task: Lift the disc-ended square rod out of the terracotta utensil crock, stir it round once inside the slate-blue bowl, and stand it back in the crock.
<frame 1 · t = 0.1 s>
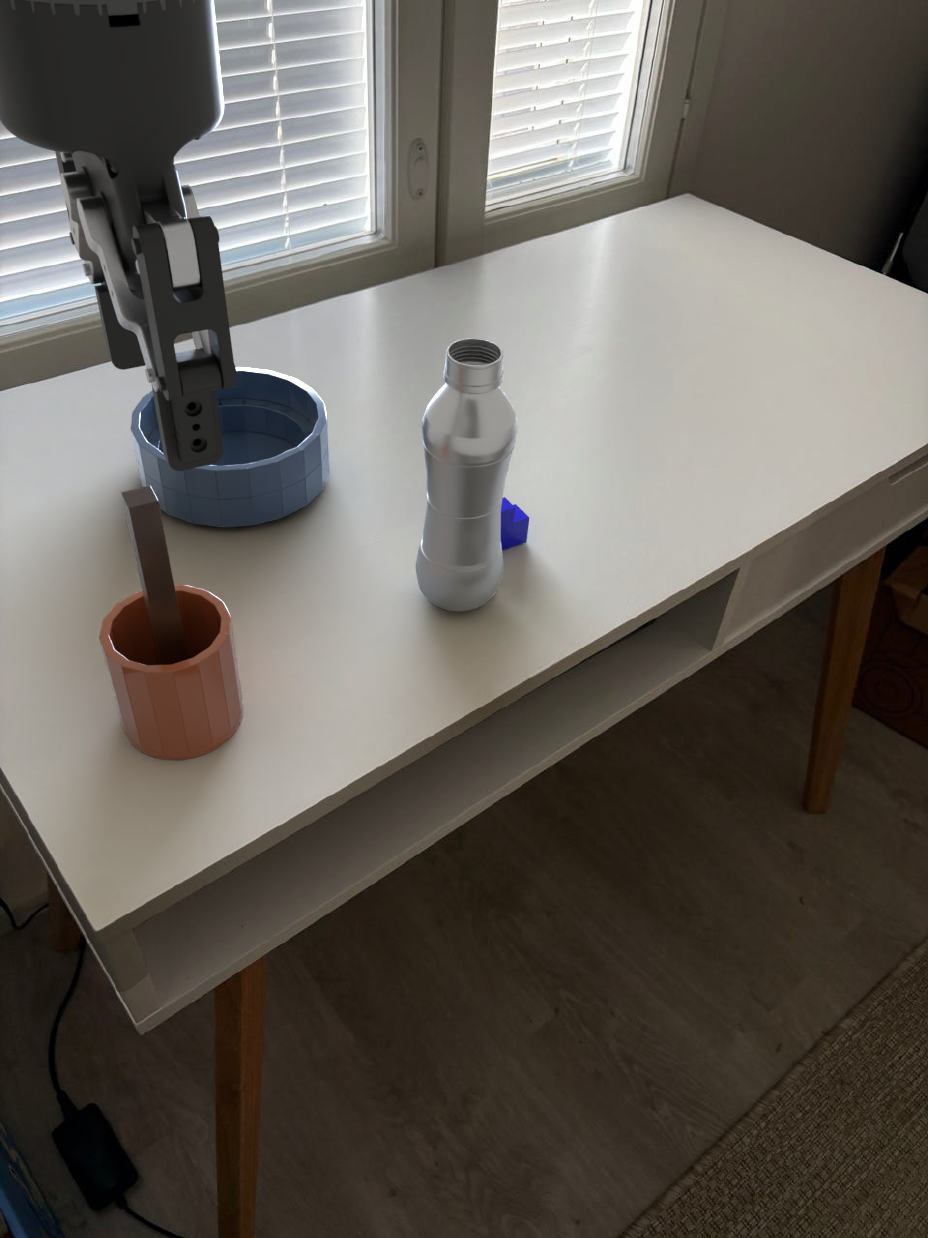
hand: (164, 410, 43), 27 cm above the table, tool pointing down, fingers open, 8 cm apart
disc-ended square rod: (182, 708, 66), point 1 cm above the table, touching crock
cable holder: (481, 522, 83), on the table
bowl: (237, 476, 86), on the table
crock: (183, 714, 66), on the table
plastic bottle: (457, 594, 76), on the table
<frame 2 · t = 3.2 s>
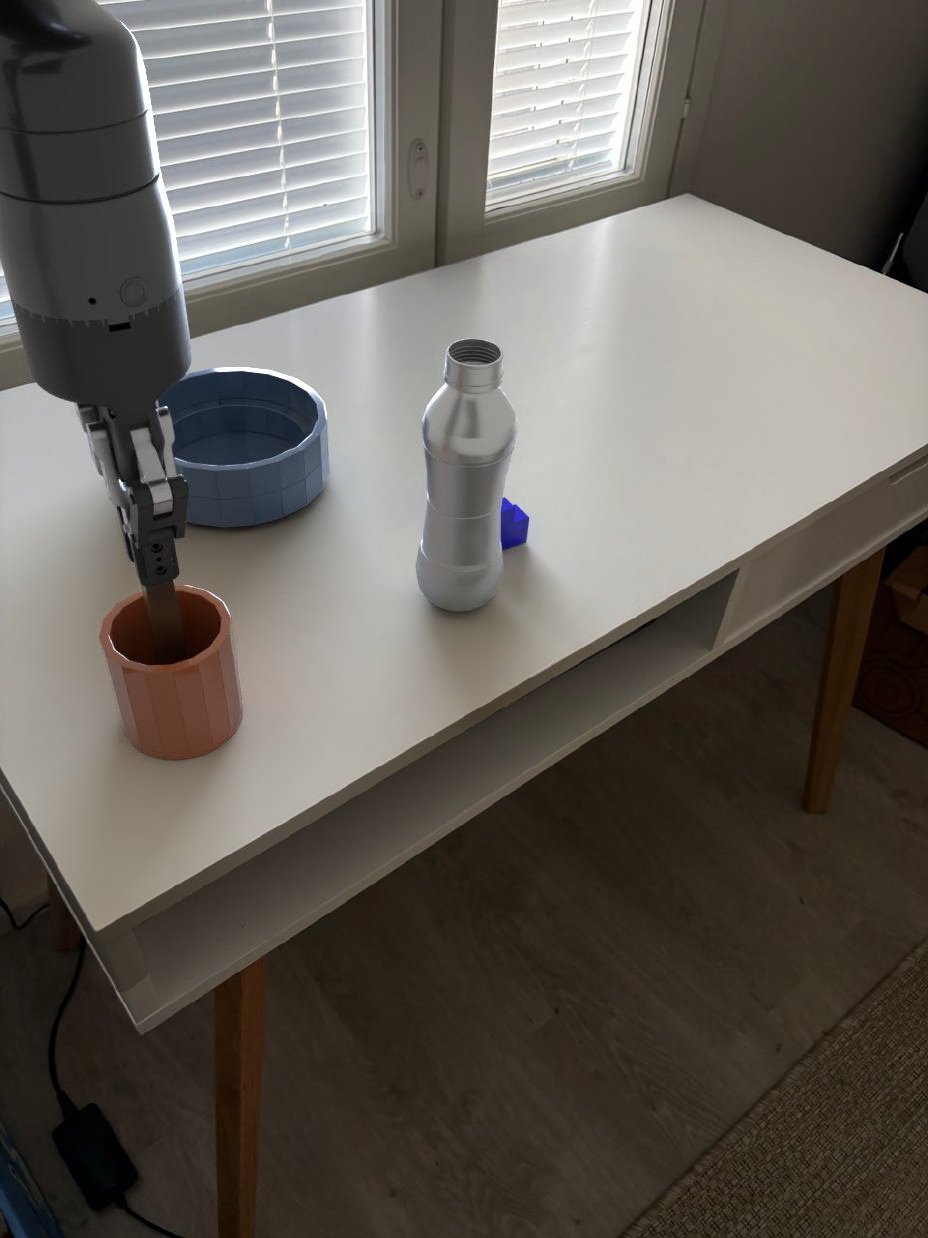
hand: (154, 567, 57), 13 cm above the table, tool pointing down, fingers closed on disc-ended square rod
disc-ended square rod: (182, 708, 66), point 1 cm above the table, touching crock, gripper
everything else where it was.
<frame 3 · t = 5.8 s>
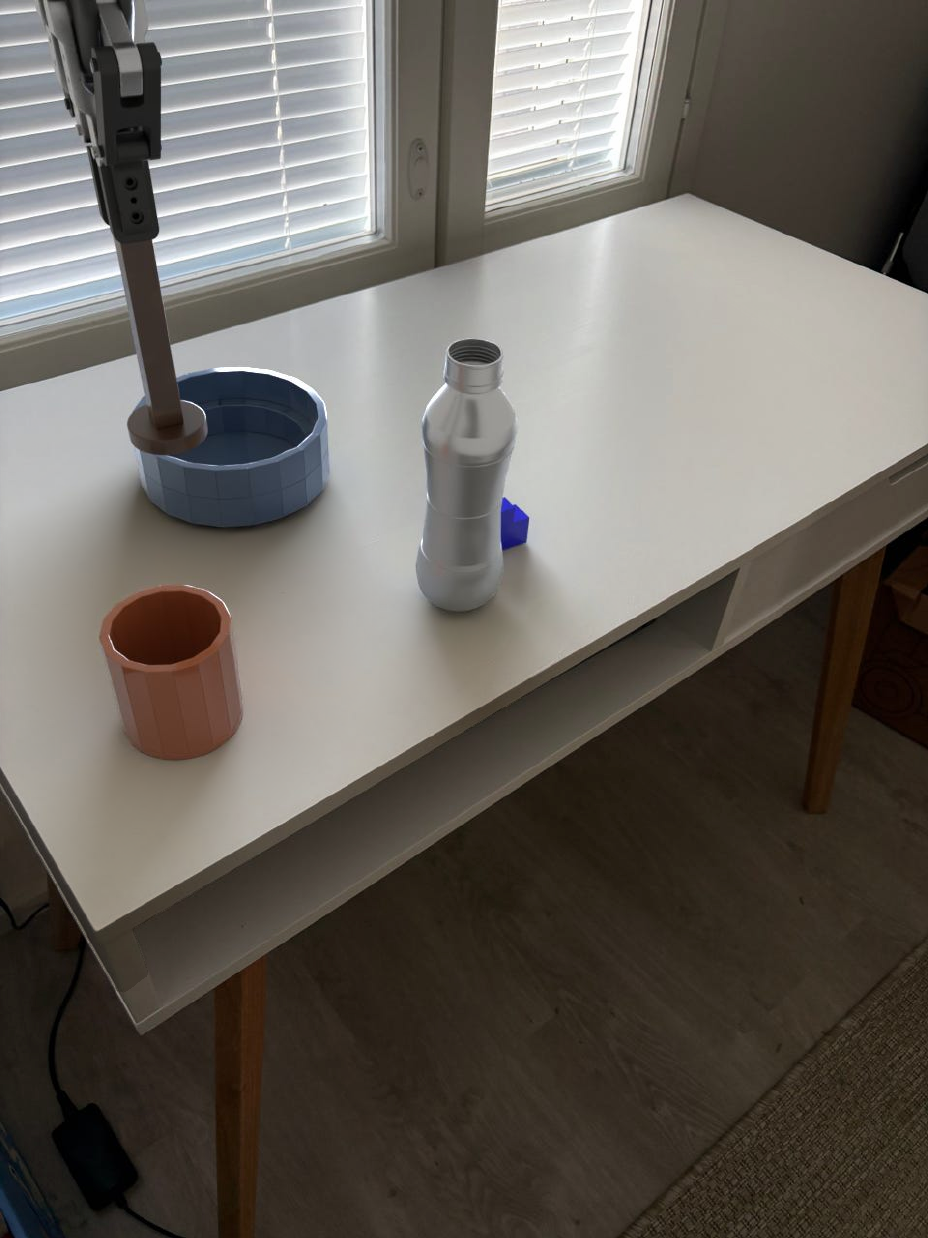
hand: (130, 228, 50), 30 cm above the table, tool pointing down, fingers closed on disc-ended square rod
disc-ended square rod: (169, 434, 59), point 18 cm above the table, touching gripper
everything else where it was.
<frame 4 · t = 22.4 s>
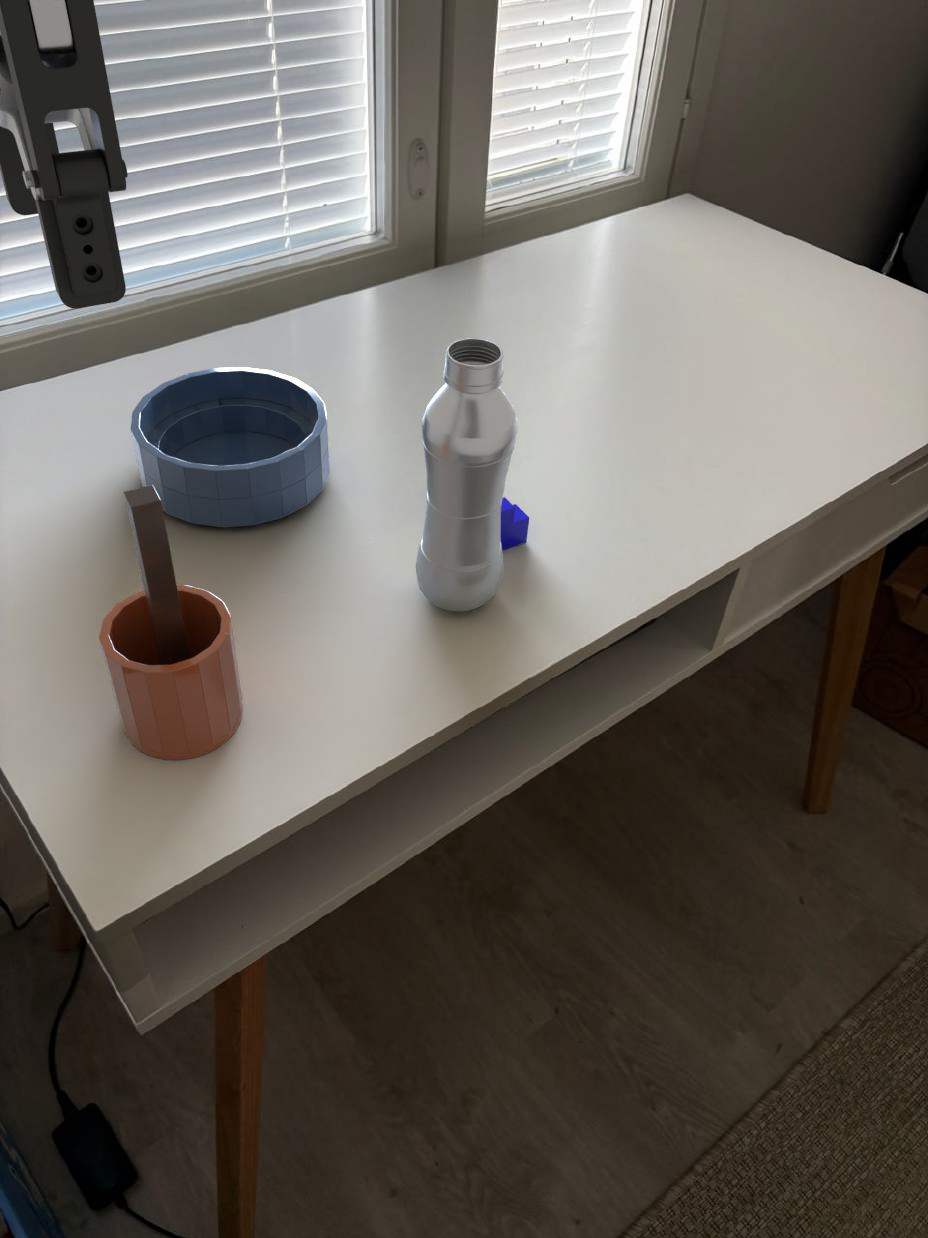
hand: (65, 252, 38), 34 cm above the table, tool pointing down, fingers open, 8 cm apart
disc-ended square rod: (184, 708, 66), point 1 cm above the table, touching crock
everything else where it was.
at the end: disc-ended square rod 0.1 cm off-centre in the crock, point 0.6 cm above the crock's base; disc-ended square rod touching crock; disc-ended square rod tilted 0° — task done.
